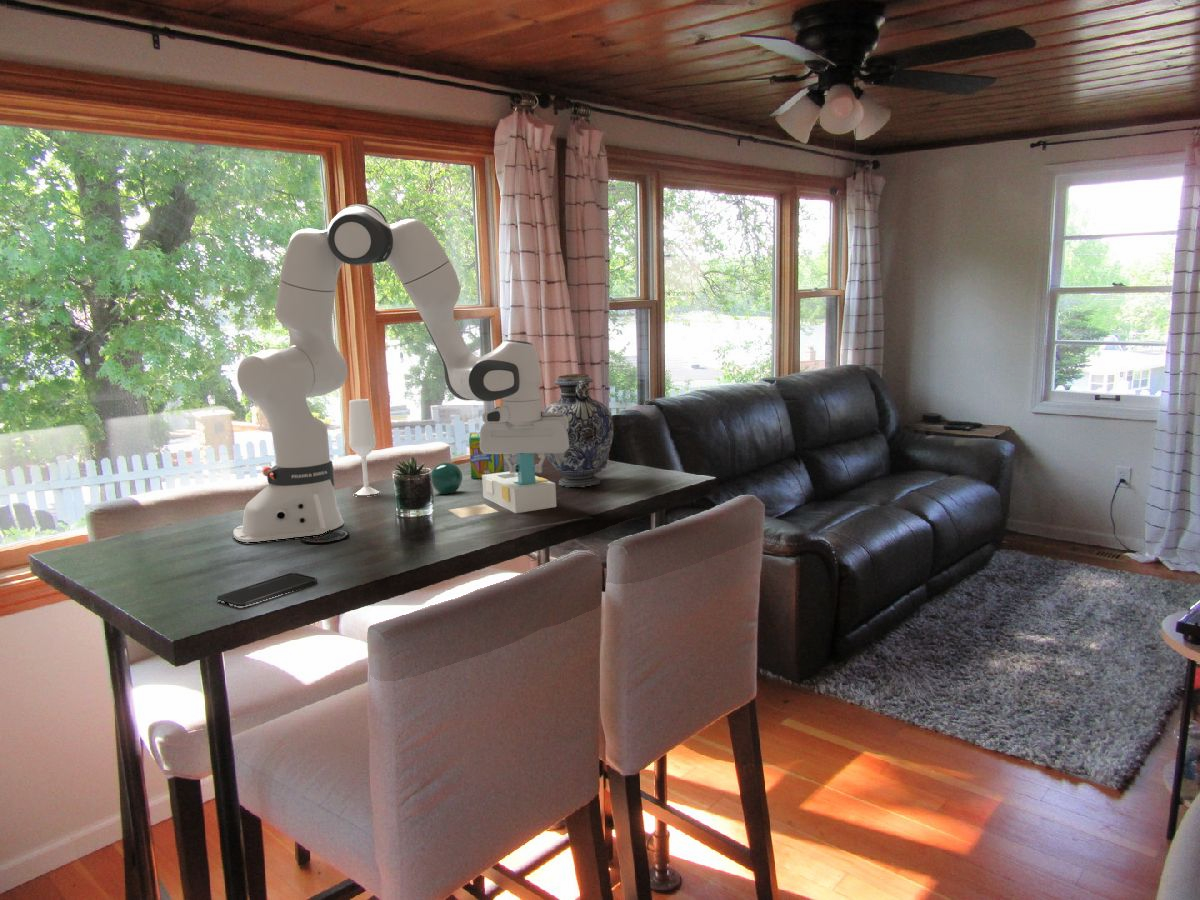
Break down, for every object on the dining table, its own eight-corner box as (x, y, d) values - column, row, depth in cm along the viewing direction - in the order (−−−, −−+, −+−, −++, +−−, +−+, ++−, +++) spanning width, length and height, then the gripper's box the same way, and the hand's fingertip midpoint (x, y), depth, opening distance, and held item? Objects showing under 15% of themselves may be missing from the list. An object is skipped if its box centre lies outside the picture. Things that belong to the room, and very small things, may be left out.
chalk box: (471, 473, 245) (468, 420, 242) (504, 471, 246) (501, 419, 243) (470, 479, 236) (466, 425, 233) (504, 477, 236) (501, 423, 234)
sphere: (425, 493, 220) (423, 462, 218) (454, 488, 224) (452, 458, 223) (440, 498, 213) (438, 466, 212) (469, 493, 218) (467, 462, 217)
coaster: (461, 520, 191) (461, 517, 191) (447, 512, 199) (447, 509, 199) (499, 514, 195) (499, 511, 195) (484, 506, 203) (484, 504, 203)
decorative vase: (625, 487, 217) (620, 375, 212) (552, 495, 212) (545, 381, 208) (604, 472, 237) (598, 370, 233) (537, 479, 233) (530, 375, 228)
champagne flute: (376, 496, 219) (368, 401, 215) (349, 497, 219) (341, 402, 215) (383, 490, 225) (376, 398, 221) (357, 491, 226) (349, 399, 221)
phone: (320, 578, 151) (241, 604, 139) (320, 585, 151) (241, 611, 139) (292, 572, 155) (213, 596, 143) (293, 578, 155) (214, 603, 143)
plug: (522, 488, 197) (519, 451, 195) (518, 486, 200) (516, 449, 198) (535, 487, 198) (533, 449, 196) (531, 484, 201) (529, 448, 199)
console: (514, 515, 193) (513, 488, 192) (482, 499, 210) (480, 474, 209) (556, 509, 198) (555, 482, 197) (521, 493, 215) (520, 468, 214)
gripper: (570, 409, 197) (573, 469, 200) (483, 411, 201) (487, 470, 203) (565, 413, 191) (568, 474, 193) (475, 415, 194) (479, 475, 197)
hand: (526, 472), depth 198 cm, fingers closed on plug, 4 cm apart
